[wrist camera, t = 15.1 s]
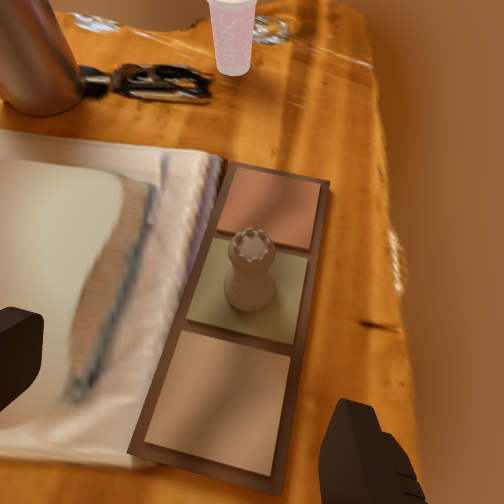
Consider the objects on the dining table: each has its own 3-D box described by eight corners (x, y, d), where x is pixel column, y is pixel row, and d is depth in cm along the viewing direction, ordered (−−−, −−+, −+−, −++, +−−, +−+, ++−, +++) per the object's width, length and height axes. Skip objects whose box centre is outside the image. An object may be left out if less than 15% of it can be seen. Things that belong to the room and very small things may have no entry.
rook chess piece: (274, 265, 29) (285, 216, 22) (275, 314, 27) (287, 276, 20) (225, 264, 29) (219, 214, 22) (222, 312, 27) (215, 274, 20)
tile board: (130, 452, 23) (124, 453, 22) (231, 167, 36) (230, 158, 35) (279, 494, 22) (281, 498, 21) (327, 187, 35) (331, 178, 34)
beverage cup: (203, 71, 44) (189, -66, 32) (224, 48, 47) (218, -87, 34) (243, 84, 43) (245, -52, 31) (262, 60, 46) (270, -75, 33)
